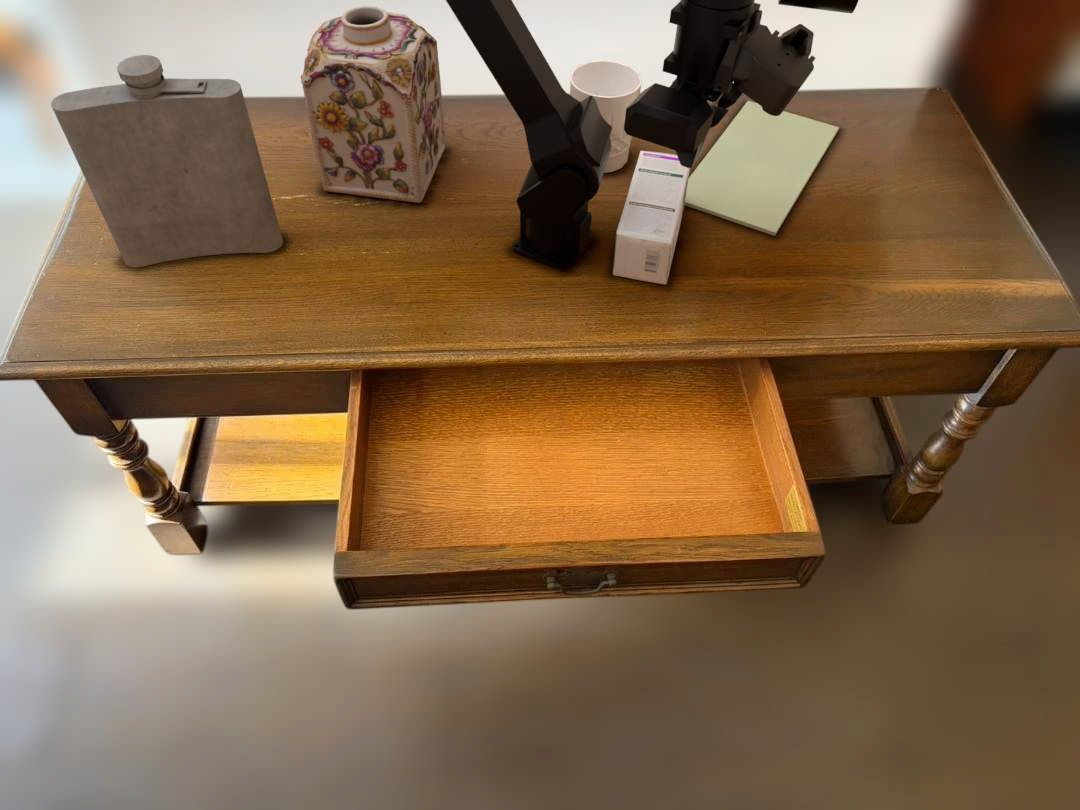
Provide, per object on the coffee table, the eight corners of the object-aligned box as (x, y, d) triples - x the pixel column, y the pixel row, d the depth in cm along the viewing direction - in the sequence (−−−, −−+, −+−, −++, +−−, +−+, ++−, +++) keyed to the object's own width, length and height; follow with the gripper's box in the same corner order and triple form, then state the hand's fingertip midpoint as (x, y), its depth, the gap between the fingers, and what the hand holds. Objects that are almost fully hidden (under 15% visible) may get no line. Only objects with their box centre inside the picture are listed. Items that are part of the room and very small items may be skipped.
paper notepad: (672, 201, 94) (673, 197, 93) (747, 103, 107) (748, 100, 107) (774, 236, 90) (775, 232, 90) (838, 130, 104) (839, 127, 103)
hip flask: (122, 269, 84) (34, 84, 69) (126, 244, 87) (43, 60, 72) (283, 251, 87) (232, 68, 71) (282, 227, 89) (233, 45, 74)
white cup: (614, 184, 95) (622, 104, 88) (554, 163, 98) (557, 84, 90) (643, 151, 100) (653, 72, 92) (585, 131, 102) (590, 53, 95)
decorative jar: (422, 206, 92) (405, 49, 78) (321, 194, 93) (286, 36, 79) (448, 146, 100) (436, -7, 86) (354, 135, 101) (328, -18, 87)
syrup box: (673, 242, 80) (695, 156, 89) (613, 232, 81) (641, 147, 90) (666, 286, 84) (688, 199, 93) (609, 276, 85) (636, 191, 94)
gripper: (775, 73, 58) (731, 249, 70) (852, -25, 68) (802, 142, 80) (631, 32, 61) (612, 207, 73) (726, -56, 72) (696, 109, 84)
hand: (687, 165), depth 77 cm, fingers closed
